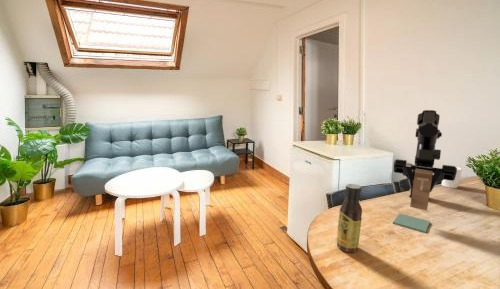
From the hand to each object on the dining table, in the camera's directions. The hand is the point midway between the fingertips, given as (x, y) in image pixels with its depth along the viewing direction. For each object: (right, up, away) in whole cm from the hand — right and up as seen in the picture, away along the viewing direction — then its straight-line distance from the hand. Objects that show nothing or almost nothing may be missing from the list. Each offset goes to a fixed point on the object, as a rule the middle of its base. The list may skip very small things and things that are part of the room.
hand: (420, 189), depth 91 cm
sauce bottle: (-30, -16, -12) cm, 36 cm away
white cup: (+45, -6, +46) cm, 65 cm away
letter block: (+1, -6, +2) cm, 7 cm away
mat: (-1, -13, +4) cm, 14 cm away
